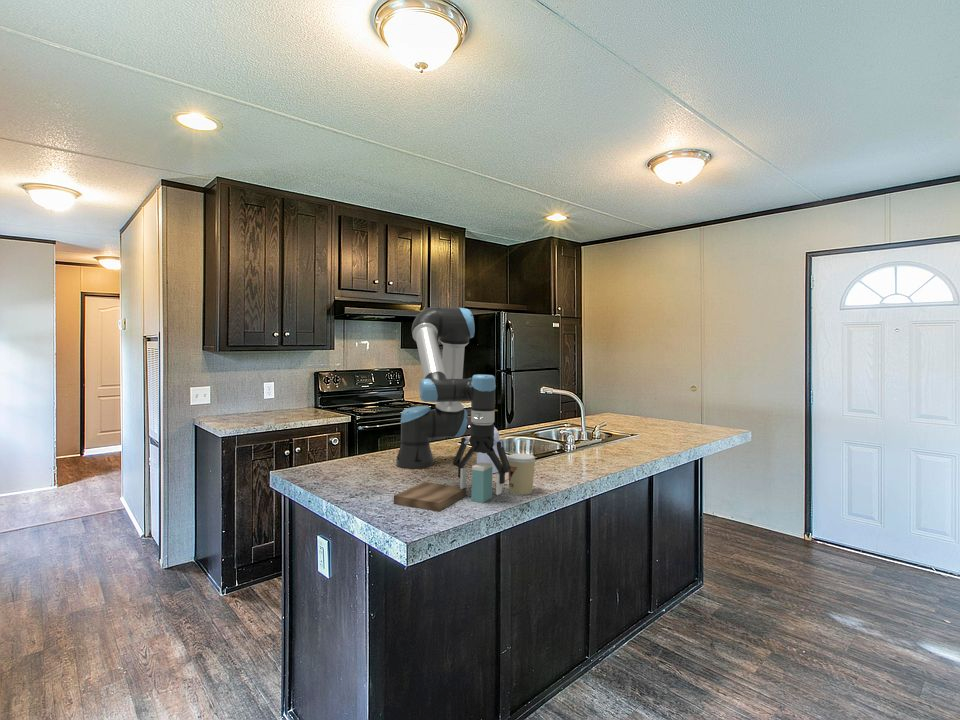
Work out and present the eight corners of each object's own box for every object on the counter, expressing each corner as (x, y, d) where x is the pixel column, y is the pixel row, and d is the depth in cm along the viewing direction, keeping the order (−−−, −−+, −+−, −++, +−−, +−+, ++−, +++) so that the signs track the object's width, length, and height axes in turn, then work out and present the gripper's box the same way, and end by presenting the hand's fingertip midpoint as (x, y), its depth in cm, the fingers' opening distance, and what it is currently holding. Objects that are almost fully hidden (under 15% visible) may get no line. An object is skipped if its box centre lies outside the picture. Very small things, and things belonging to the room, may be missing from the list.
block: (471, 501, 163) (471, 466, 162) (480, 495, 169) (481, 462, 169) (482, 503, 161) (483, 468, 161) (491, 497, 167) (492, 463, 167)
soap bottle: (504, 471, 202) (505, 410, 201) (488, 475, 195) (489, 412, 194) (488, 467, 208) (489, 408, 207) (471, 471, 201) (472, 410, 200)
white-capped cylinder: (505, 487, 178) (505, 453, 178) (531, 487, 179) (532, 453, 179) (508, 495, 169) (509, 459, 169) (537, 495, 170) (537, 459, 170)
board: (393, 503, 159) (393, 495, 159) (424, 489, 175) (424, 481, 175) (438, 511, 152) (439, 503, 152) (466, 495, 168) (466, 488, 168)
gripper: (443, 421, 166) (441, 488, 167) (513, 428, 156) (511, 499, 157) (454, 418, 173) (452, 482, 174) (522, 425, 163) (520, 493, 163)
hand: (480, 490), depth 165 cm, fingers open, 12 cm apart
